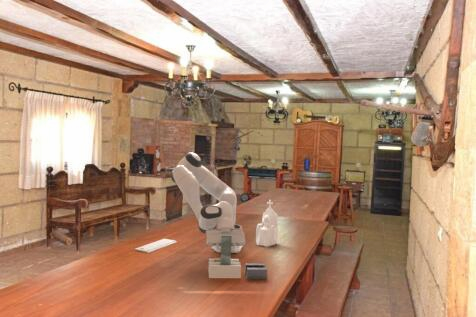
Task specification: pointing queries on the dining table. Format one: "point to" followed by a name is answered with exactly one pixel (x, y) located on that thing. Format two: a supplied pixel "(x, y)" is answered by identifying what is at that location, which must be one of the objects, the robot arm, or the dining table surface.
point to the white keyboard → (155, 245)
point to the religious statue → (267, 228)
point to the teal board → (226, 249)
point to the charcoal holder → (255, 271)
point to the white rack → (224, 269)
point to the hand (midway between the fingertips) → (226, 252)
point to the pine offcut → (217, 259)
